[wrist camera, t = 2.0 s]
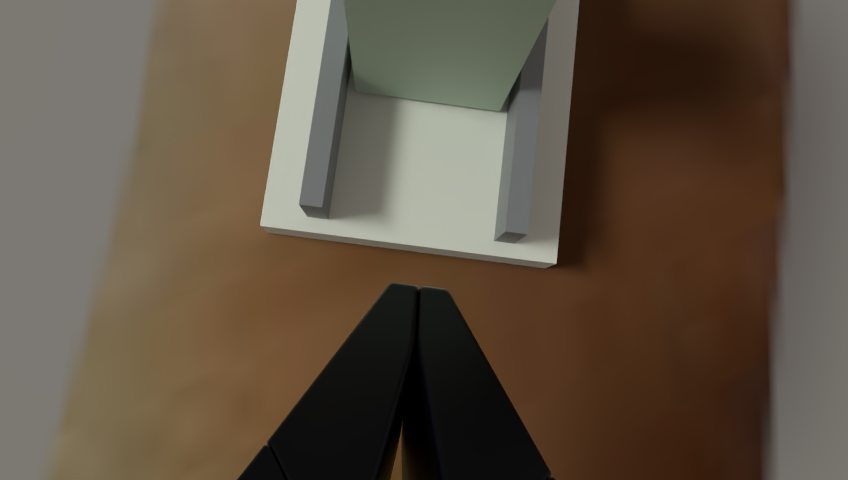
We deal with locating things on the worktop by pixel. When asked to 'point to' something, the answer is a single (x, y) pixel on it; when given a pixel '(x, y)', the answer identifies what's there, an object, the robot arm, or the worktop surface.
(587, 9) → the worktop surface
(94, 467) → the worktop surface
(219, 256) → the worktop surface
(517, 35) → the block
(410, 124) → the housing
